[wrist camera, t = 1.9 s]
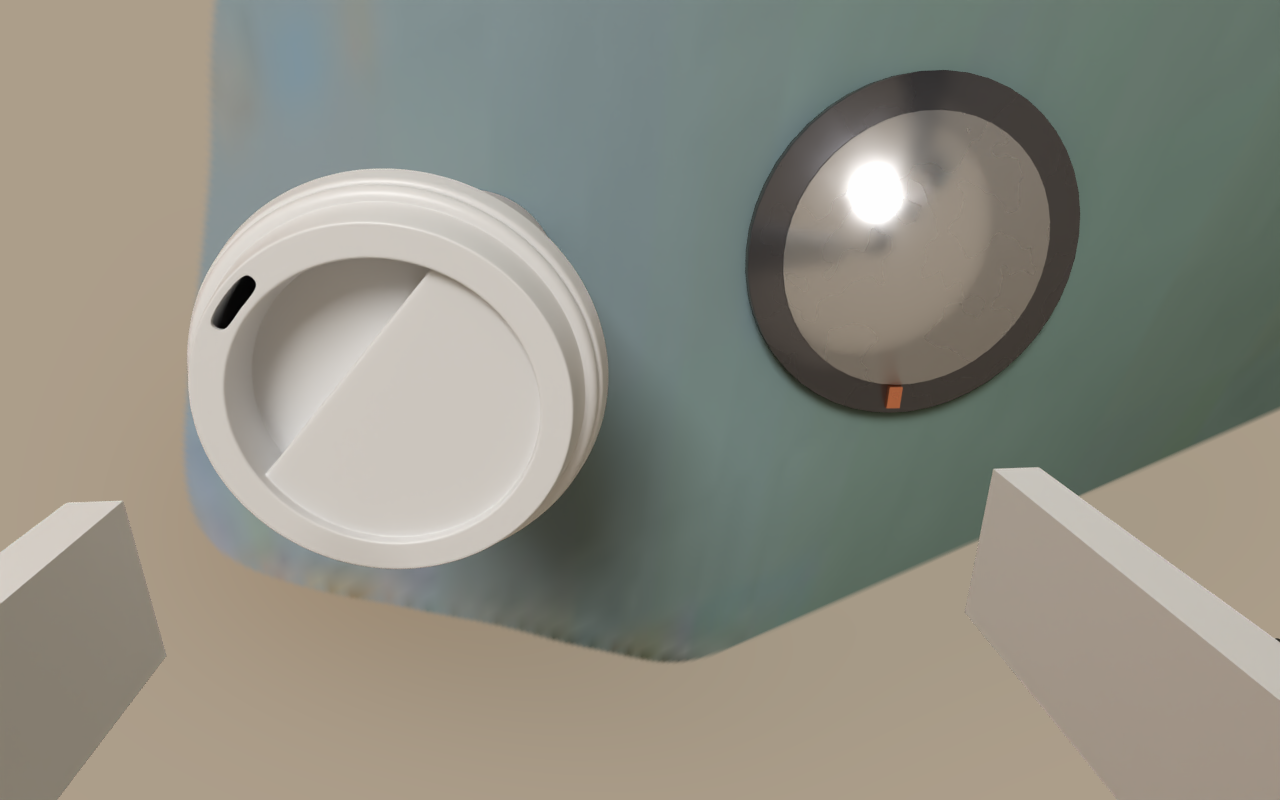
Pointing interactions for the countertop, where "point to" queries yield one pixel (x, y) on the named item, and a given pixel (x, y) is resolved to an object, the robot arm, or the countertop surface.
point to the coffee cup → (395, 368)
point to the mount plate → (912, 240)
